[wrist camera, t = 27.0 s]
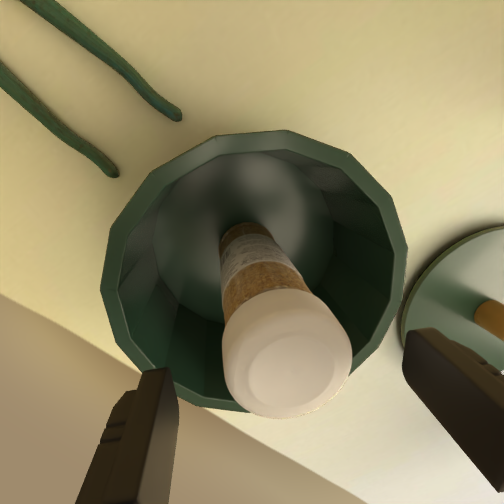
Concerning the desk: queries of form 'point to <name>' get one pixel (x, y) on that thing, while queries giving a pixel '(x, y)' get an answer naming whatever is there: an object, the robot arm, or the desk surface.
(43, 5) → the pliers
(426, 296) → the tin lid
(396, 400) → the desk surface
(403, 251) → the tin
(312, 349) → the sprinkles bottle
